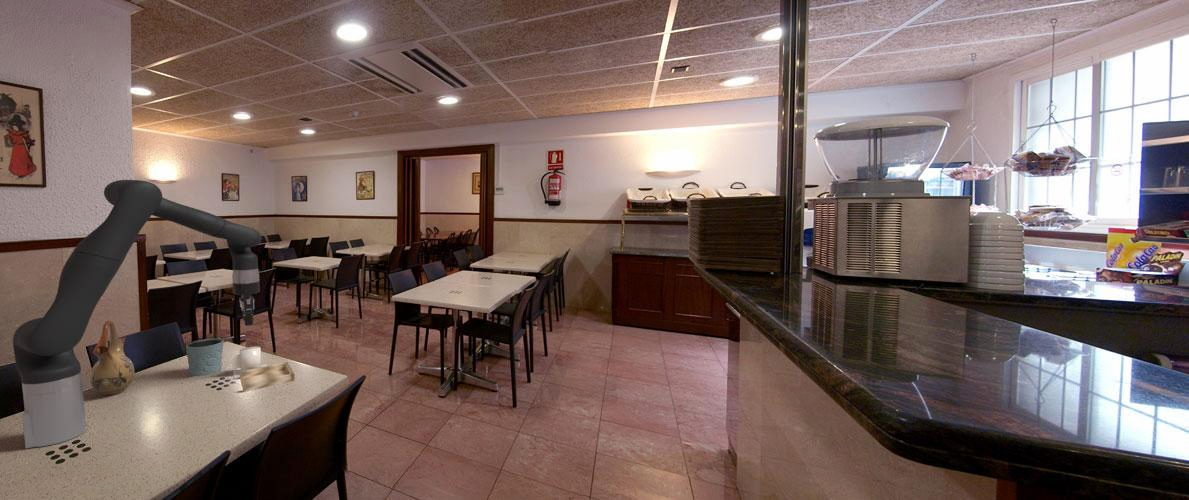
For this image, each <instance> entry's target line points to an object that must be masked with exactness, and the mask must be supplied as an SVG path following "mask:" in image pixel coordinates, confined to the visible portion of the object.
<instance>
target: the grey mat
mask: <svg viewBox="0 0 1189 500" xmlns="http://www.w3.org/2000/svg"><path fill="white" fill-rule="evenodd" d="M266 366H268V364H267V363H266V364H261V367H266ZM240 372H241V369H235V370H232V375H233V379H234V381H236V380H240Z"/></svg>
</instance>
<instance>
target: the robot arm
mask: <svg viewBox="0 0 1189 500" xmlns="http://www.w3.org/2000/svg"><path fill="white" fill-rule="evenodd" d="M103 195H104V198H105V200H106V201H107V202H108V203H109V204H111V205H112V206H113V207H112V209H111V211H110V212H109V215H108V216H107V217H106V218H105V219H104V221H103V222H101V224H100V225H99V226H98V227H96V228H95V229H94V230H92V231H91V232H90V233H89V234H87V236H85V237H84V238H83V239H82V240H81V241H80V242H79V243H78V244H77V245H76V246H75V247H74V249H73V251H72V252H71V254H70V255H69V256H68V258H67V260H66V261H65V264H64V265H63V268H62V270H61V273H60V276H59V281H58V286H57V287H58V288H57V292H56V296H55V298H54V300H53V302H52V303H51V306H49V309H48V310H47V311H46V313H45V314H44V315H43V317H38V318H33V319H31V320H28V321H26V322H24V323H22V324H21V325H20V326H19V327H18V328H17V329H16V330H15V332H14V334H13V336H12V346H13V354H14V360H15V366H16V370H17V372H18V374H19V376H20V380H21V388H22V395H23V406H24V411H23V413H22V414H21V417H22V419H21V420H22V427H23V437H24V446H25V449H29V448H30V449H31V448H38V447H39V448H42V447H46V446H51V445H52V446H53V445H56V444H60V443H63V442H66V441H69V440H72V439H75V438H77V437H80V436H81V435H82V434H84V433H85V432H86V431H87V421H86V420H87V419H86V412H85V411H86V410H85V399H84V390H83V389H84V388H83V377H82V366H81V362H80V361H79V359H78V358H77V355H75V351H74V348H75V347H77V345H78V344H79V343H80V341H81V340H82V338H83V337H84V334H85V332H86V330H87V327H88V325H89V322H90V319H91V318H92V315H93V312H94V310H95V309H96V307H97V305H98V303H99V302H100V300H101V299H102V297H103V295H104V294H105V292H106V291H107V289H108V288H109V285H110V284H111V282H112V281H113V280H114V277H115V276H116V274H117V273H118V271H119V270H120V268H121V266H122V265H123V262H124V261H125V259H126V257H127V255H128V253H129V252H130V249H131V248H132V246H133V244H134V243H135V241H136V239H137V237H138V235H139V233H140V232H141V230H142V229H143V227H144V226H145V225H146V223H147V221H149V220H150V218H151V217H152V216H153V217H156V218H159V219H163V220H166V221H169V222H172V223H175V224H178V225H181V226H183V227H185V228H188V229H190V230H194V231H195V232H199V233H202V234H204V235H207V236H209V237H213V238H216V239H224V240H226V244H227V247H228V250H229V253H230V255H231V259H232V274H231V276H232V279H231V281H232V294H234V295H235V296H236V295H237V296H240V298H239V307H240V308H241V309H240V310H241V311H242V312H241V313H242V321H244V325H245V326H246V327H247V326H252V325H253V324H254V318H253V317H254V314H255V312H254V310H255V297H254V296H252V295H255V294H258V293H259V292H260V291H261V290H260V287H261V286H260V271H259V262H258V260H259V259H258V255H256V254H255V253H254V252H252V250H251V248H254V247H257V246H258V245H259V244H260V243H261V242H262V235H261V233H260V232H259V231H257V230H256V229H254V228H251V227H249V226H246V225H243V224H239V223H235V222H232V221H229V220H227V219H226V218H222V217H220V216H218V215H215V214H213V213H210V212H208V211H204V210H202V209H201V210H200V209H197V208H196V207H190V206H187V205H186V204H185V205H184V204H181V203H178V202H176V201H173V200H170V199H167V198H165V197H163V193H162V190H161V189H160V188H159V186H158V185H156V184H155V183H153V182H151V181H147V180H141V179H140V180H139V179H120V180H115V181H112V182H110V183H108V184H107V185H106V186H105V187H104V189H103Z"/></svg>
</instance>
